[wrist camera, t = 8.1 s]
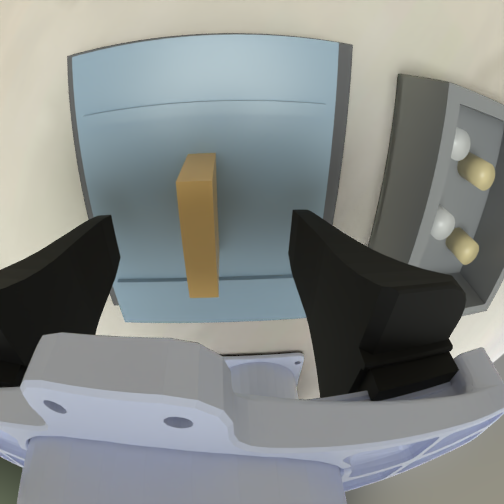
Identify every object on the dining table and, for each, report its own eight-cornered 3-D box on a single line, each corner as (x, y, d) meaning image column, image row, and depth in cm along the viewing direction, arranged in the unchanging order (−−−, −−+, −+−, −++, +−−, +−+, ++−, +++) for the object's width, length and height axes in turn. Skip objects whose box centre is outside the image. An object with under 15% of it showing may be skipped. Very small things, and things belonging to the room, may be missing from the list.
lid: (300, 298, 20) (318, 362, 16) (131, 302, 19) (113, 366, 15) (326, 45, 12) (375, 36, 7) (88, 57, 11) (28, 58, 6)
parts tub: (458, 275, 21) (486, 310, 17) (358, 283, 20) (381, 329, 17) (506, 112, 13) (552, 132, 10) (398, 73, 13) (449, 82, 9)
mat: (315, 296, 21) (317, 301, 20) (115, 300, 20) (113, 305, 19) (348, 45, 12) (352, 44, 11) (71, 56, 11) (67, 56, 10)
